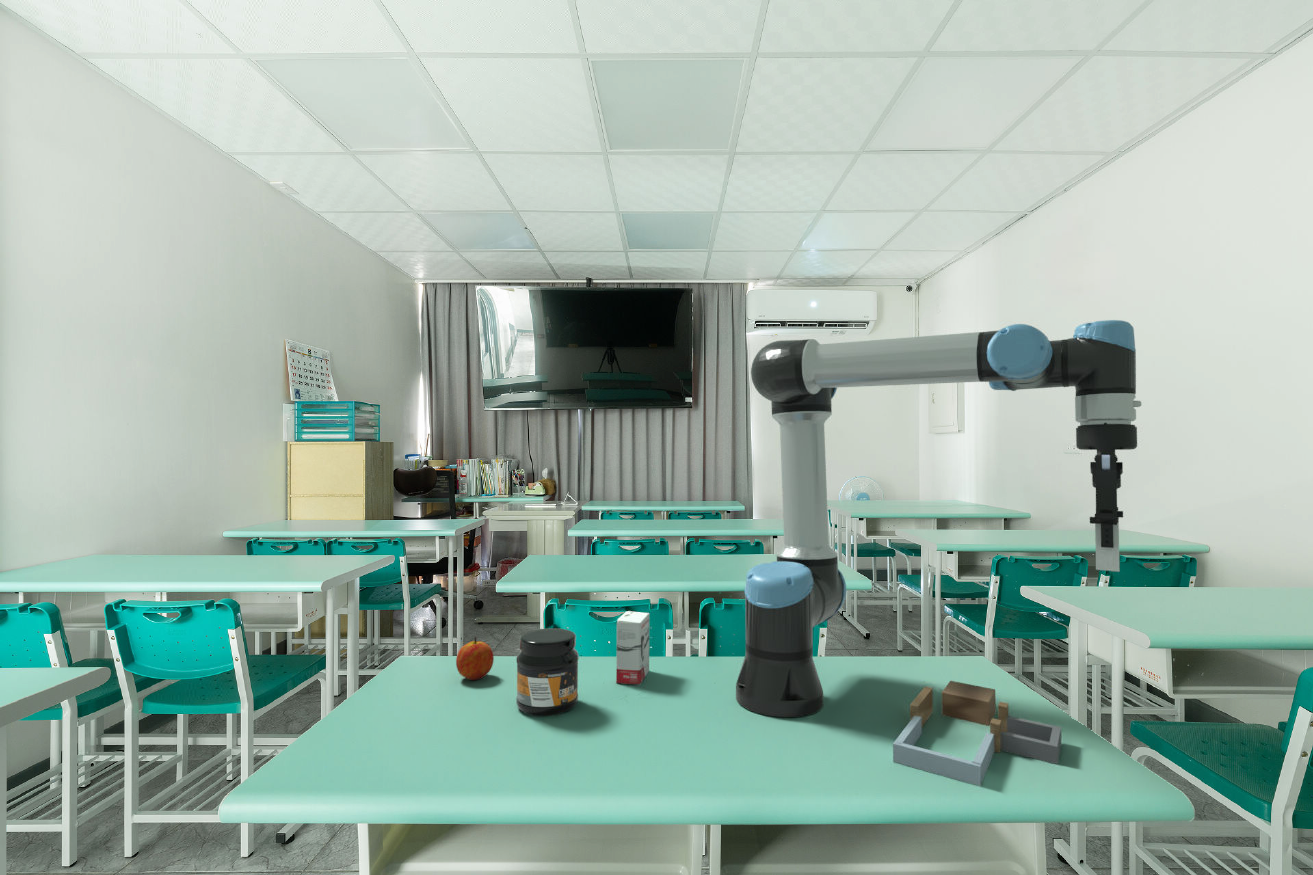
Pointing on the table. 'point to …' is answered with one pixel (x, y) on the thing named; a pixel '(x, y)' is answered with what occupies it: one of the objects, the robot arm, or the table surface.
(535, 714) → the supplement container
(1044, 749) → the trap pit
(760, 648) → the robot arm
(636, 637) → the ink box
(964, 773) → the dock
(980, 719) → the block
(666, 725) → the table surface
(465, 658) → the fruit
